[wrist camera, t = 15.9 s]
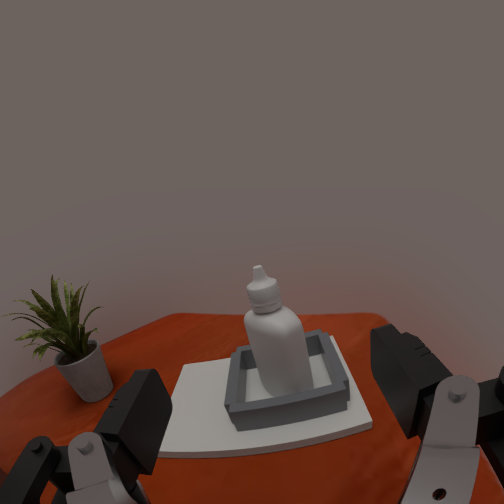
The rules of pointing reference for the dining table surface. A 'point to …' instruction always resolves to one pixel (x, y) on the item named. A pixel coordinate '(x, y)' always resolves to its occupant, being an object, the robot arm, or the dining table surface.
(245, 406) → the bottle holder
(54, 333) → the house plant
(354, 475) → the dining table surface
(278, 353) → the eye dropper bottle
